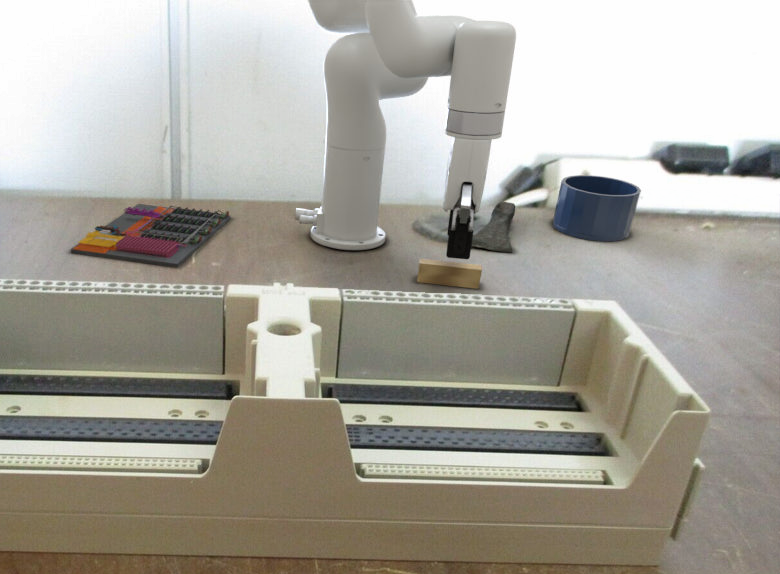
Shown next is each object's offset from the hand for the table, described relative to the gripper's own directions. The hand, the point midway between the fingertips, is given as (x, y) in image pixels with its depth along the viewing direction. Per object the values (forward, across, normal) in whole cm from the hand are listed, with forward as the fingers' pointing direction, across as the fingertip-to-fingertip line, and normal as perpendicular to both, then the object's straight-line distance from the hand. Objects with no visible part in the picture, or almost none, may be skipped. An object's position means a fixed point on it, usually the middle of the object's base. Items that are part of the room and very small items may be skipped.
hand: (457, 246), depth 110 cm
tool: (+6, -27, +8) cm, 29 cm away
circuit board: (+5, -8, -49) cm, 50 cm away
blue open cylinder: (+6, -35, +24) cm, 43 cm away
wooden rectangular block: (+6, -1, -1) cm, 6 cm away
